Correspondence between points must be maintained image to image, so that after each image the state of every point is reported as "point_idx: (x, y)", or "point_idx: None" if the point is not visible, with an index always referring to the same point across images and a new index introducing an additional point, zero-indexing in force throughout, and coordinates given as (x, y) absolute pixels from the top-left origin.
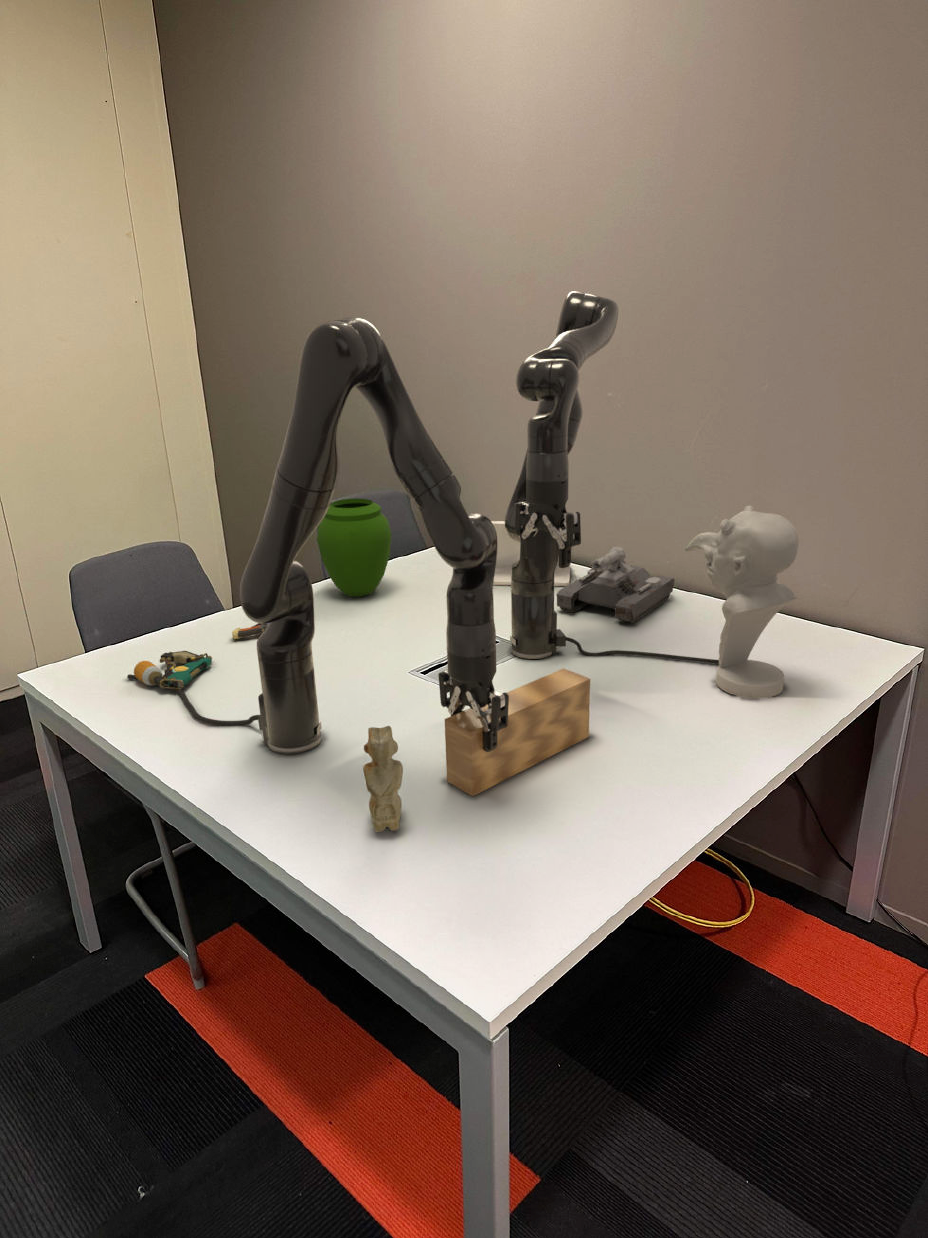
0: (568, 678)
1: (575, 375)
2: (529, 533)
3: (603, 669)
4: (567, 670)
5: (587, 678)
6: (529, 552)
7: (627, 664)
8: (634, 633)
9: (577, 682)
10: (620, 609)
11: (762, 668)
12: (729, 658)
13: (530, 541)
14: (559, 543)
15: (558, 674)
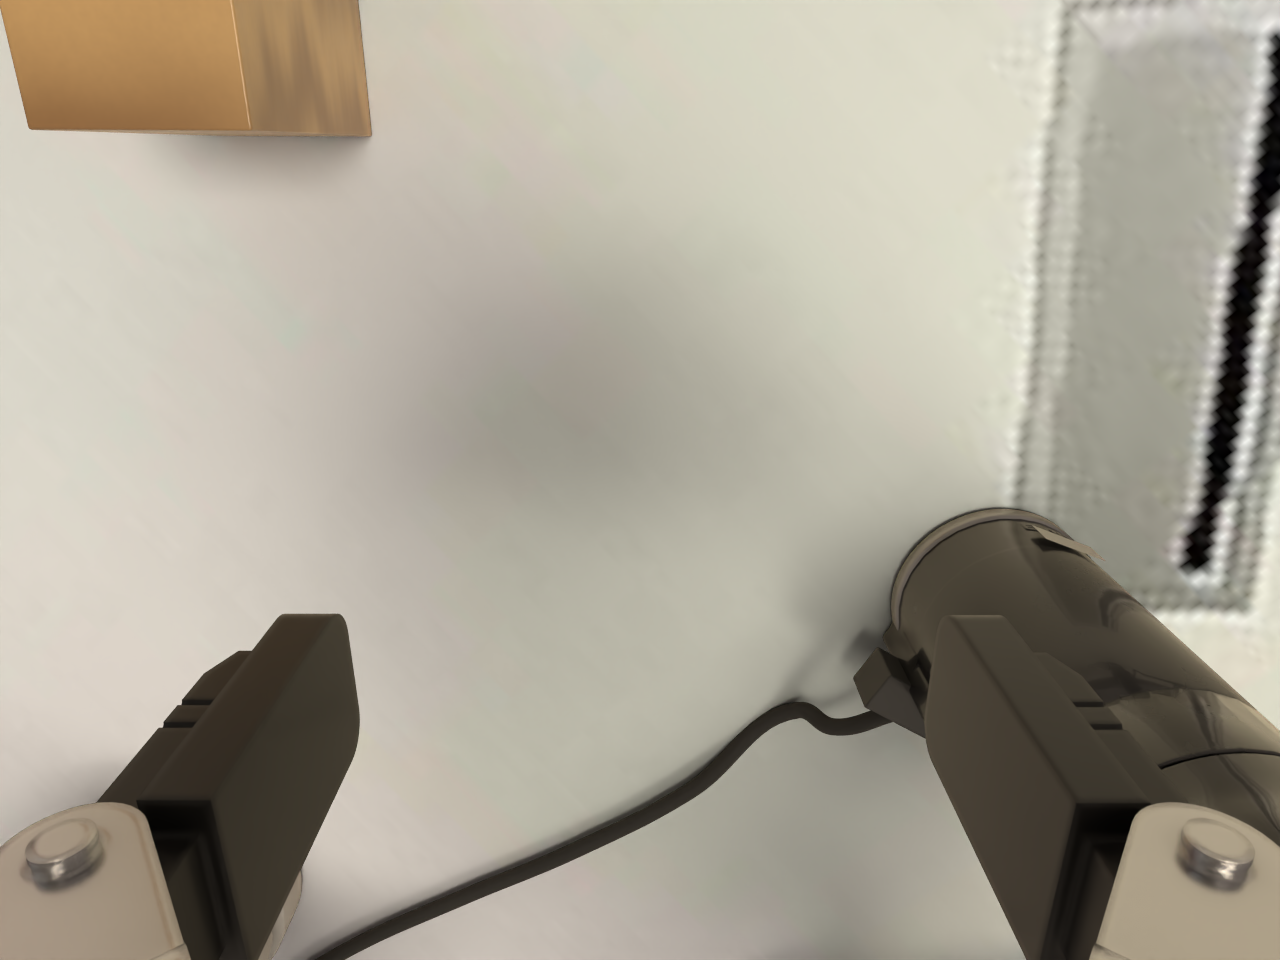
0: (103, 23)
1: None
2: (1097, 941)
3: (638, 655)
4: (207, 119)
5: (39, 117)
6: (968, 691)
7: (602, 744)
8: (771, 951)
9: (21, 17)
10: None
11: None
12: None
13: (1043, 842)
14: (113, 879)
15: (192, 25)
